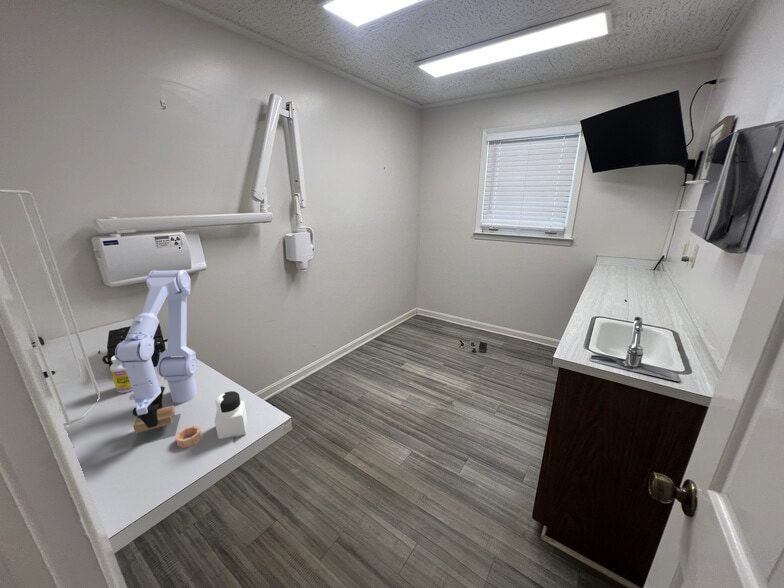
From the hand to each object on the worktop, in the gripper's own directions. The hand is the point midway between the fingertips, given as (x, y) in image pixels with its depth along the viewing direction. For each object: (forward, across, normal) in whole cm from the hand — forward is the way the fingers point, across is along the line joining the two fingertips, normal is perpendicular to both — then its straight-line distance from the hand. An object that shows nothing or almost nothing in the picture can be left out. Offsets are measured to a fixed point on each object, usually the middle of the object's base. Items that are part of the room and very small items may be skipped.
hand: (155, 419), depth 90 cm
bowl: (+4, +9, +9) cm, 13 cm away
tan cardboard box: (+1, 0, 0) cm, 1 cm away
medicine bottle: (+4, +9, +20) cm, 22 cm away
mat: (+4, 0, 0) cm, 4 cm away
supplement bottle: (+5, -29, -14) cm, 33 cm away
